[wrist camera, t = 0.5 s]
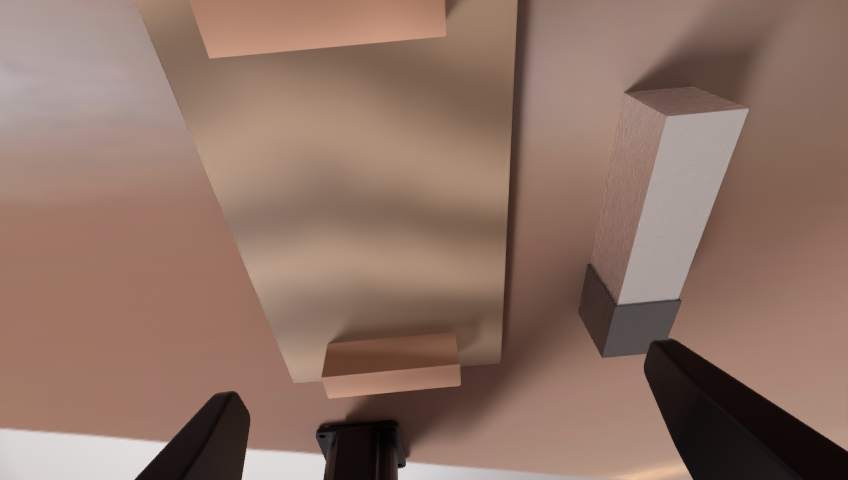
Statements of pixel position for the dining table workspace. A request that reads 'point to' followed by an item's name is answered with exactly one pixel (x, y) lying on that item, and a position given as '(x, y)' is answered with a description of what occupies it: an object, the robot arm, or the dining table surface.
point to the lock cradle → (357, 173)
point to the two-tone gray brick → (655, 212)
